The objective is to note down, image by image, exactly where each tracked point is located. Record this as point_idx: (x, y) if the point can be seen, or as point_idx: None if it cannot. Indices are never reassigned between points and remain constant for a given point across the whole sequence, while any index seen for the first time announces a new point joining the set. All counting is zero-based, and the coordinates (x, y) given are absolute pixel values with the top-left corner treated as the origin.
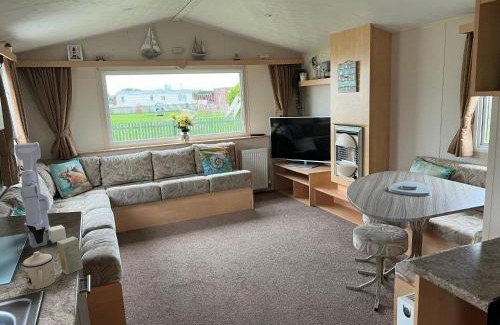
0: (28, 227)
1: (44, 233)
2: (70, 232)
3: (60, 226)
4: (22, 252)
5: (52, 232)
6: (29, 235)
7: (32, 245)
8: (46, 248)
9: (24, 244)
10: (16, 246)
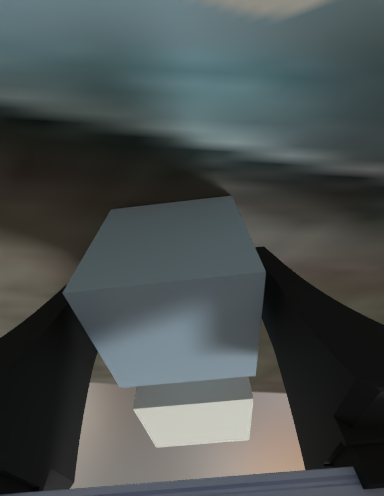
0: (330, 362)
1: (118, 377)
2: (258, 376)
3: (214, 437)
4: (37, 115)
5: (137, 398)
6: (153, 277)
7: (105, 224)
8: (54, 285)
9: (286, 150)
10: (301, 58)
